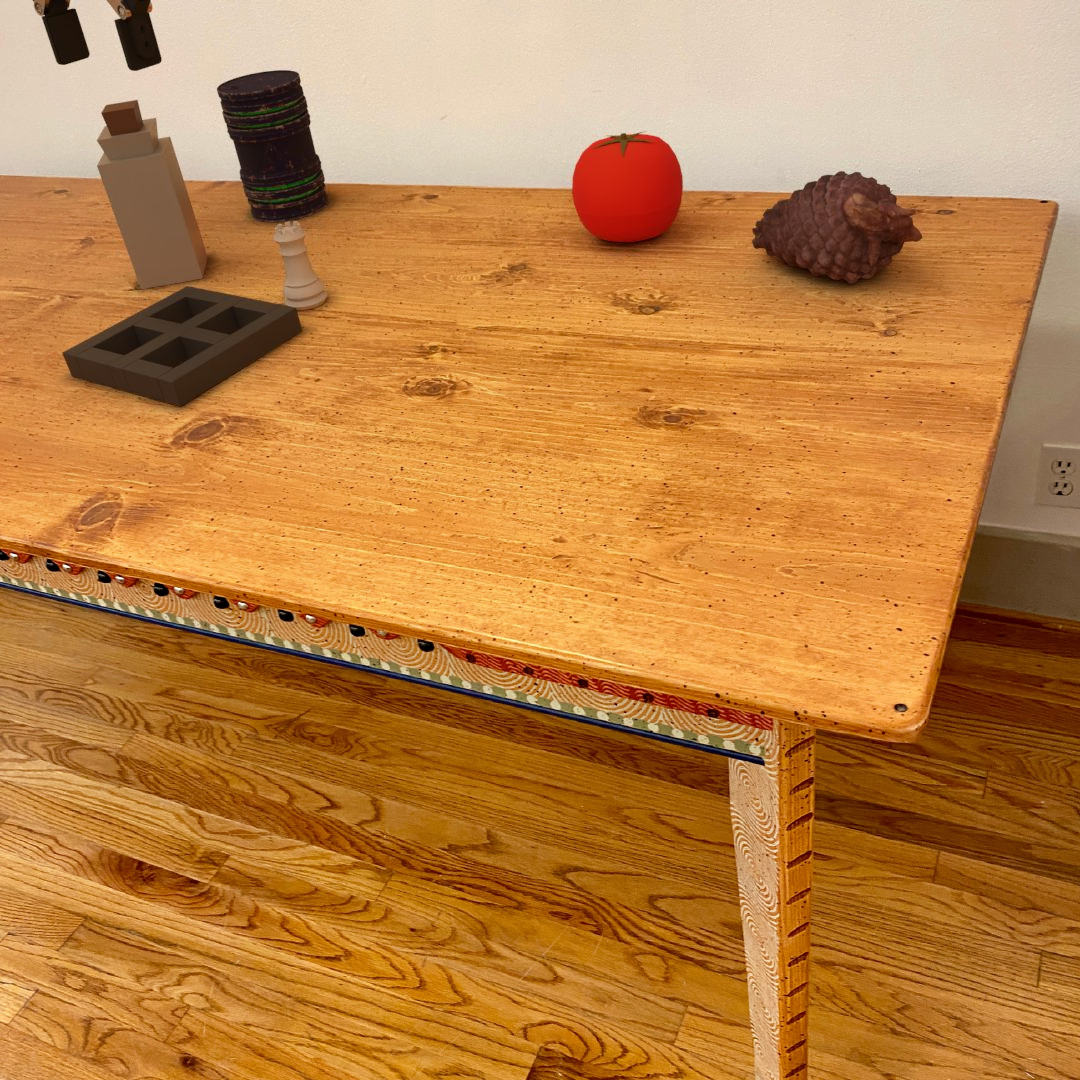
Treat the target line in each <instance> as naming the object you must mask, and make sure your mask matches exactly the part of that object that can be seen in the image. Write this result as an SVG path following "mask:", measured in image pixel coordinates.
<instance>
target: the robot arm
mask: <svg viewBox="0 0 1080 1080" xmlns="http://www.w3.org/2000/svg"><path fill="white" fill-rule="evenodd" d="M32 2H33V8H34V10H35V11H34V12H36V14H37V15H38V16H41V19H42V22H43V25H44V28H45V32H46V34H47V37H48V40H49V44H50V46H51V50H52V52H53V56H54V58H55V62H56V63H57V64H58V65H61V66H67V65H70V64H73V63H76V62H80V61H82V60H86V59H89V57H90V55H91V53H90V50H89V47H88V43H87V40H86V37H85V34H84V31H83V27H82V24H81V21H80V18H79V15H78V12H77V9H76V8H70V4H71V0H32ZM106 2H107V3H108V4H109V5H110V7H111V8H112V9H113V11H114V12H115V14H116V15H117V16H118V17H119V18H117V19H113V21H114V25H115V28H116V31H117V32H116V33H117V35H118V38H119V42H120V45H121V48H122V53H123V56H124V58H125V62H126V65H127V68H128V69H129V70H130V71H132V72H133V71H134V72H135V71H136V72H138V71H141V70H144V69H148V68H149V67H153V66H156V65H159V64H161V63H162V60H163V59H162V54H161V52H160V48H159V44H158V40H157V36H156V33H155V29H154V26H153V22H152V18H151V15H150V13H152V12H153V3H152V0H106Z"/></svg>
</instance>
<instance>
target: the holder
mask: <svg viewBox="0 0 1080 1080" xmlns="http://www.w3.org/2000/svg"><path fill="white" fill-rule="evenodd" d="M302 332H303V327H302V324H301V321H300V316H299V312H298V310H297V309H296V307H291V306H287V305H286V304H280V303H275V302H270V301H265V300H260V299H255V298H249V297H246V296H241V295H236V294H232V293H231V294H230V293H226V292H220V291H215V290H211V289H204V288H200V287H194V286H189V285H187V286H185V287H183V288H181V289H179V290H177V291H174V292H173V293H172V294H170V295H168V296H166V297H164V298H162V299H160V300H158V301H157V302H156V301H155V303H153V304H151V305H149V306H147V307H145V308H143V309H141V310H139V311H138V312H135V313H134V314H132V315H129V316H128V317H126V318H124V319H123V320H120V321H119V322H117V323H115V324H113V325H111V326H110V327H107V328H106V329H104V330H102V331H100V332H98V333H96V334H95V335H92V336H91V337H89V338H87V339H85V340H84V341H81V342H80V343H78V344H76V345H74V346H72V347H70V348H68V349H66V350H65V351H62V352H61V354H62V356H63V359H64V361H65V363H66V366H67V368H68V370H69V373H70V375H71V377H74V378H77V379H81V380H84V381H88V382H92V383H95V384H99V385H102V386H104V387H105V386H106V387H109V388H113V389H116V390H119V391H122V392H126V393H129V394H134V395H137V396H139V397H144V398H148V399H151V400H155V401H158V402H162V403H165V404H168V405H169V404H170V405H172V406H177V407H182V406H184V405H186V404H188V403H190V402H191V401H193V400H194V399H196V398H198V397H199V396H201V395H202V394H204V393H205V392H206V391H208V390H210V389H213V388H214V387H215V386H217V385H219V384H220V383H222V382H223V381H225V380H226V379H228V378H230V377H232V375H235V374H236V373H238V372H239V371H241V370H243V369H244V368H246V367H247V366H249V365H251V364H252V363H254V362H255V361H257V360H258V359H260V358H262V357H263V356H265V355H266V354H268V353H270V352H271V351H273V350H275V349H276V348H278V347H279V346H281V345H282V344H284V343H286V342H288V341H289V340H290V339H292V338H293V337H295V336H297V335H298V334H300V333H302Z"/></svg>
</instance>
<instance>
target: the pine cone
mask: <svg viewBox="0 0 1080 1080" xmlns="http://www.w3.org/2000/svg"><path fill="white" fill-rule="evenodd" d="M897 199H898V197H897V196H896V194H894V193H892V192H891V187H889V186H888V185H887V184H886V183H883V184H880V183H878V180H877V179H876V178H874V177H873V176H870V177H867V176H863V175H862V173H861V172H860V171H854V172H852V173H846V172H845V171H844V170H840V171H838V172H836V173H835V174H824V175H821V176H820V177H819V178H818V179H817V180H814V181H813V180H812V181H808V182H807V183H806V184H804V186H803V188H802V189H797V190H793V192H792V193H791V195H790V197H789V198H786V199H781V200H778V201H777V202H776V203H775V204H773V206H772V207H771V208H767V209H766V210H764V212H763V214H762V216H763V217H762V218H761V219H760V220H757V221H756V222H755V227H752V228H751V229H752V233H753V235H754V238H752V240H751V244H752V246H753V249H755V250H759V249H761V250H762V249H763V250H765V254H766V256H769V257H771V258H774V257H775V258H776V259H778V261H779V262H780V263H782V264H788V266H790V267H792V268H798V267H799V268H803V269H808V270H809V272H811V274H812V275H813V276H814V277H817V278H818V277H821V276H823V275H827V276H828V278H830V279H832V280H833V281H839V280H844V281H845V282H846V283H848V285H854V284H855V283H856V282H857V281H858V280H859V279H861V278H862V279H864V280H867V279H868V280H869V279H871V278H873V277H874V275H875V274H876V272H877V271H878V270H880V269H884V268H887V267H889V266H890V265H891V264H892V262H893V261H894V260H893V257H894V256H896V255H898V254H901V251H902V249H903V248H904V244H905V243H910V242H914V243H916V242H919V241H921V240H922V239H923V237H924V236H923V234H922V233H921V231H920V230H919V229H918V228H917V227H916V226H915V225H914V220H913V218H912V216H915V214H916V213H917V211H916V209H915V208H913V209H909V208H903V207H901V205H898V204H897Z"/></svg>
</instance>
